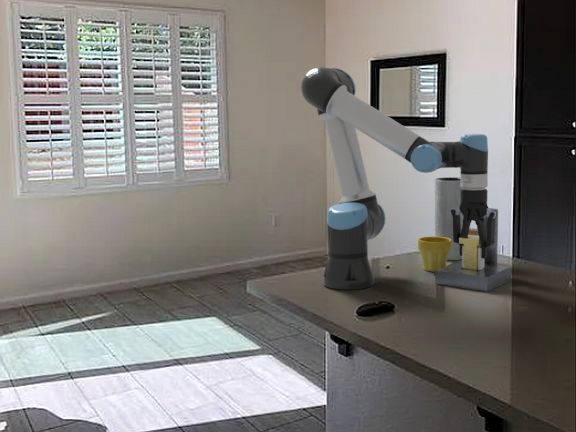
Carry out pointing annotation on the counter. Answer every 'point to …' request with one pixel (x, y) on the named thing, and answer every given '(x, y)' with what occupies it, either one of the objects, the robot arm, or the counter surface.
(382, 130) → the robot arm
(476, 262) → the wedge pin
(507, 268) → the gray post stand
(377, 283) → the counter surface
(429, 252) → the plant pot
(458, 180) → the vase
